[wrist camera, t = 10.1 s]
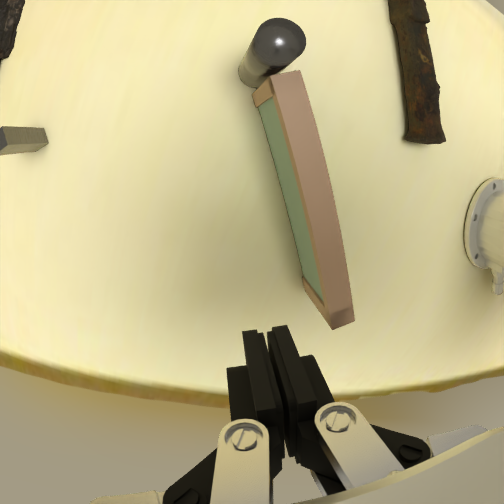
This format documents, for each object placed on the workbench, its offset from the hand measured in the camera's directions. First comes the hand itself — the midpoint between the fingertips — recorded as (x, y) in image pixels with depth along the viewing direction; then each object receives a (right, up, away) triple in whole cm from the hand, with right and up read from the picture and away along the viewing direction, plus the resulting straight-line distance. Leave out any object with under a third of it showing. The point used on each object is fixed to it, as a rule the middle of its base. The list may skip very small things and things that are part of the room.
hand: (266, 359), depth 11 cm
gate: (+3, +9, +16) cm, 18 cm away
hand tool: (+15, +24, +13) cm, 31 cm away
